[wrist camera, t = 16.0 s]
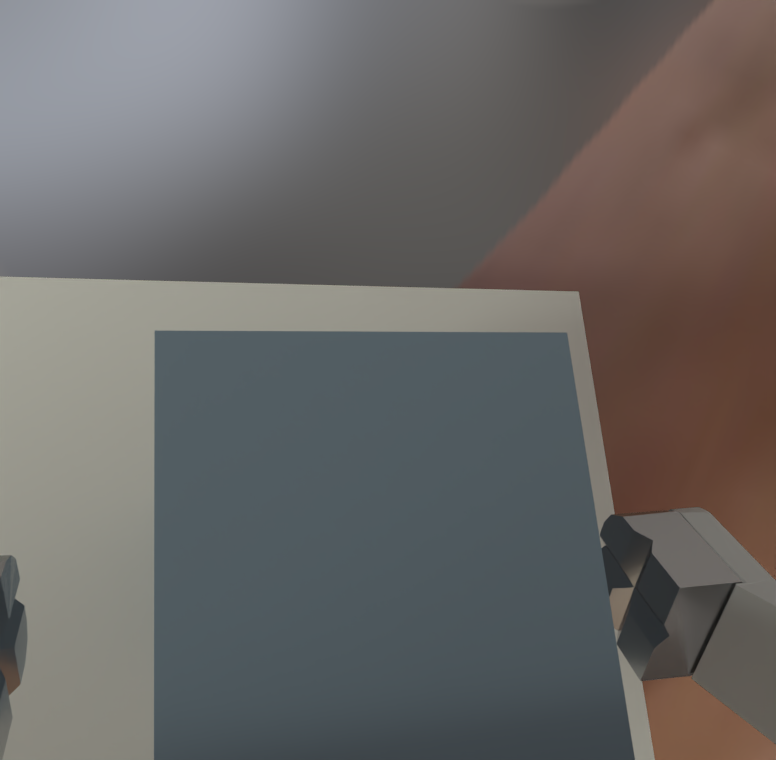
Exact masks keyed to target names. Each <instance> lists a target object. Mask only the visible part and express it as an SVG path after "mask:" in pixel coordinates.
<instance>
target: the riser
mask: <svg viewBox="0 0 776 760" xmlns="http://www.w3.org/2000/svg"><path fill="white" fill-rule="evenodd" d="M155 330H157V331H360V332H563V333H567V335H568V342H569V348H570V354H571V360H572V367H573V373H574V379H575V386H576V392H577V398H578V404H579V411H580V417H581V423H582V430H583V436H584V442H585V448H586V455H587V461H588V467H589V474H590V480H591V486H592V492H593V499H594V505H595V511H596V518H597V524H598V530H599V536H600V532H601V529H602V527H603V524H604V522H605V521H606V519H607V518H608V517H609V516H610V515H611V514H615V512H614V506H613V500H612V493H611V487H610V481H609V475H608V469H607V463H606V457H605V450H604V444H603V438H602V432H601V426H600V420H599V414H598V407H597V401H596V395H595V389H594V383H593V377H592V371H591V364H590V358H589V352H588V346H587V340H586V334H585V328H584V321H583V315H582V309H581V303H580V297H579V292H577V291H538V290H499V289H460V288H421V287H420V288H419V287H382V286H342V285H305V284H304V285H303V284H302V285H301V284H265V283H226V282H188V281H149V280H148V281H147V280H110V279H71V278H33V277H31V278H30V277H0V555H12V556H13V557H14V558H16V562H17V566H18V571H19V576H20V581H19V585H18V589H17V592H16V596H15V599H16V600H18V601H19V602H20V603H22V604H23V605H24V606H25V611H26V618H27V637H28V640H27V650H26V660H25V667H24V671H23V676H22V680H21V684H20V685H19V686H18V687H17V688H16V689H15V690H14V691H13V692H12V693H11V694H10V695H9V700H10V705H11V711H12V716H13V718H12V722H11V726H10V730H9V735H8V739H7V743H6V747H5V751H4V755H3V759H2V760H154V395H155ZM600 543H601V548H603V547H604V546H605V545H604V543H603V541H602V539H601V537H600ZM614 631H615V637H616V643H617V635H618V630H616V629H615V628H614ZM617 650H618V656H619V662H620V669H621V675H622V681H623V687H624V694H625V700H626V706H627V713H628V719H629V725H630V731H631V738H632V744H633V750H634V757H635V760H655V758H654V752H653V746H652V739H651V733H650V727H649V721H648V715H647V709H646V703H645V696H644V690H643V684H642V681H640V680H639V678H638V677H637V675H636V674H635V672H634V670H633V669H632V667H631V666H630V664H629V663H628V661H627V660H626V658H625V656H624V655H623V653H622V652H621V650H620V649H619V647H618V645H617Z"/></svg>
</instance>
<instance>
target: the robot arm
mask: <svg viewBox="0 0 776 760" xmlns="http://www.w3.org/2000/svg"><path fill="white" fill-rule="evenodd" d="M600 537H601V539H602V541H603V543H604V545H605V546H604V547H603V548H601V549H602V555H603V562H604V568H605V574H606V580H607V587H608V593H609V599H610V606H611V612H612V618H613V625H614V628H615V629H616V630H618V635H617V645H618V647H619V649H620V650H621V652H622V653H623V655H624V656H625V658H626V660H627V661H628V663H629V664H630V666H631V667H632V669H633V670H634V672H635V674H636V675H637V677H638V678H639V680H640V681H646V680H655V679H665V678H674V677H683V676H692V678H691V679H693V680H694V681H695V682H696V683H698V684H699V685H700V686H702V687H703V688H704V689H705V690H707V691H708V692H709V693H711V694H712V695H713V696H714V697H716V698H717V699H718V700H720V701H721V702H722V703H723V704H725V705H726V706H727V707H729V708H730V709H731V710H732V711H734V712H735V713H736V714H738V715H739V716H740V717H741V718H743V719H744V720H745V721H747V722H748V723H749V724H750V725H752V726H753V727H754V728H756V729H757V730H758V731H759V732H761V733H762V734H763V735H765V736H766V737H767V738H768V739H770V740H771V741H772V742H774V743H775V744H776V580H775V579H774V578H773V577H772V576H771V575H770V574H769V573H768V572H767V571H766V570H765V569H764V568H763V567H762V566H761V565H760V564H759V563H758V562H757V561H756V560H755V559H754V558H753V557H752V556H751V555H750V554H749V553H748V552H747V551H746V550H745V548H744V547H743V546H742V545H741V544H740V543H739V542H738V541H737V540H736V539H735V538H734V537H733V536H732V535H731V534H730V533H729V532H728V531H727V530H726V529H725V528H724V527H723V526H722V525H721V524H720V523H719V522H718V521H717V520H716V518H715V517H714V516H713V515H712V514H711V513H710V512H708V511H706V510H704V509H702V508H700V507H693V508H681V509H670V510H668V511H666V510H663V511H650V512H637V513H624V514H611V515H610V516H609V517H608V518H607V519H606V521H605V522H604V524H603V527H602V529H601V532H600ZM19 581H20V576H19V571H18V566H17V562H16V558H14V557H13V556H12V555H0V760H2V759H3V755H4V751H5V747H6V743H7V739H8V735H9V730H10V726H11V722H12V718H13V716H12V711H11V705H10V700H9V695H10V694H11V693H12V692H13V691H14V690H15V689H16V688H17V687H18V686H19V685H20V684H21V680H22V676H23V671H24V667H25V660H26V650H27V640H28V637H27V618H26V611H25V606H24V605H23V604H22V603H20V602H19V601H18V600H16V599H15V596H16V592H17V589H18V585H19Z"/></svg>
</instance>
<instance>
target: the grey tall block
mask: <svg viewBox="0 0 776 760" xmlns="http://www.w3.org/2000/svg"><path fill="white" fill-rule="evenodd" d="M154 760H635V757H634V750H633V744H632V738H631V731H630V725H629V719H628V713H627V706H626V700H625V694H624V687H623V681H622V675H621V669H620V662H619V656H618V650H617V643H616V637H615V631H614V625H613V618H612V612H611V606H610V599H609V593H608V587H607V580H606V574H605V568H604V562H603V555H602V549H601V543H600V536H599V530H598V524H597V518H596V511H595V505H594V499H593V492H592V486H591V480H590V474H589V467H588V461H587V455H586V448H585V442H584V436H583V430H582V423H581V417H580V411H579V404H578V398H577V392H576V386H575V379H574V373H573V367H572V360H571V354H570V348H569V342H568V335H567V333H563V332H360V331H157V330H155V395H154Z"/></svg>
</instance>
